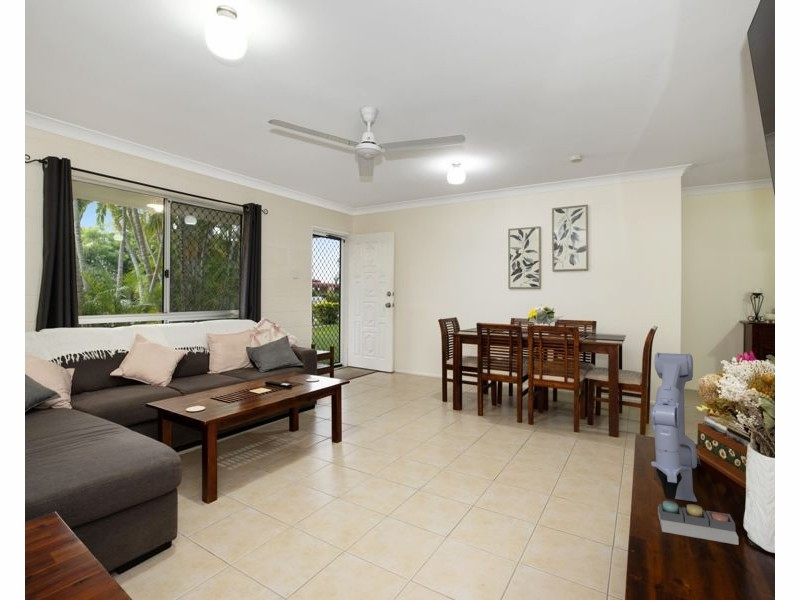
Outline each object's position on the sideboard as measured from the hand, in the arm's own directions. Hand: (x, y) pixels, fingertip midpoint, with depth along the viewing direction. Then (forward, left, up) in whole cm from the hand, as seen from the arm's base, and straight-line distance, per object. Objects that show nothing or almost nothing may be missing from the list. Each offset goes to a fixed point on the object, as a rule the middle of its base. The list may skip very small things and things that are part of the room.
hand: (669, 498), depth 114 cm
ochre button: (0, +6, -4) cm, 7 cm away
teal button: (0, 0, -4) cm, 4 cm away
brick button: (0, +11, -5) cm, 12 cm away
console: (0, +6, -7) cm, 9 cm away
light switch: (-42, +9, -7) cm, 44 cm away
